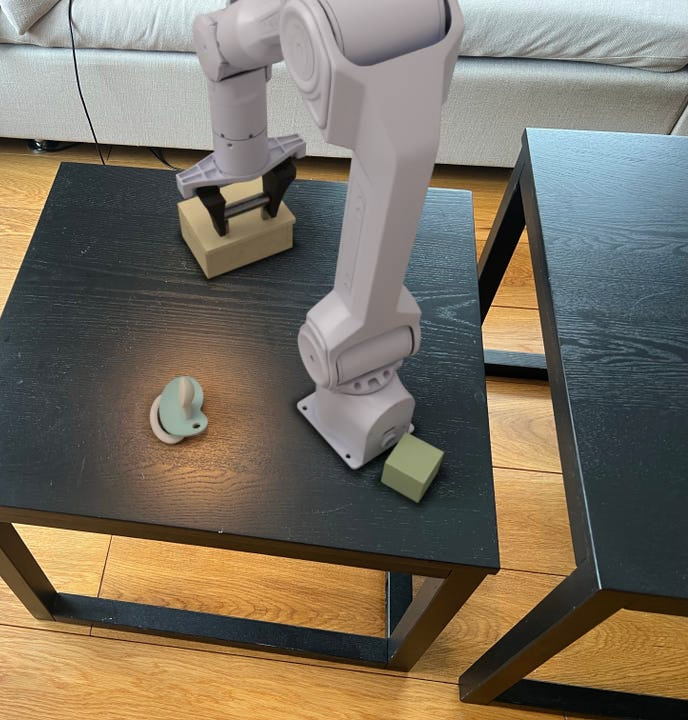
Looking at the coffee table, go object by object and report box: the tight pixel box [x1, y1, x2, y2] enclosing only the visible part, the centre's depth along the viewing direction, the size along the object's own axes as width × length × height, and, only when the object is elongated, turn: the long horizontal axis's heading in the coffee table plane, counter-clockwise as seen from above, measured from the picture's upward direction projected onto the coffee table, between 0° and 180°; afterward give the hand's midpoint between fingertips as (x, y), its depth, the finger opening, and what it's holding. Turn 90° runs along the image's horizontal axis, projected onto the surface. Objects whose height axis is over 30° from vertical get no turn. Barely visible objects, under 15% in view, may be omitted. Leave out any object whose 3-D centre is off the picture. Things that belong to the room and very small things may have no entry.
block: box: [380, 432, 445, 504], centre depth 72 cm, size 4×4×4 cm
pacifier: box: [149, 375, 208, 445], centre depth 77 cm, size 7×6×6 cm
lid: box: [177, 176, 297, 255], centre depth 89 cm, size 9×11×4 cm
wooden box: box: [177, 207, 294, 279], centre depth 93 cm, size 8×11×5 cm
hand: (245, 221), depth 88 cm, fingers closed on lid, 6 cm apart
